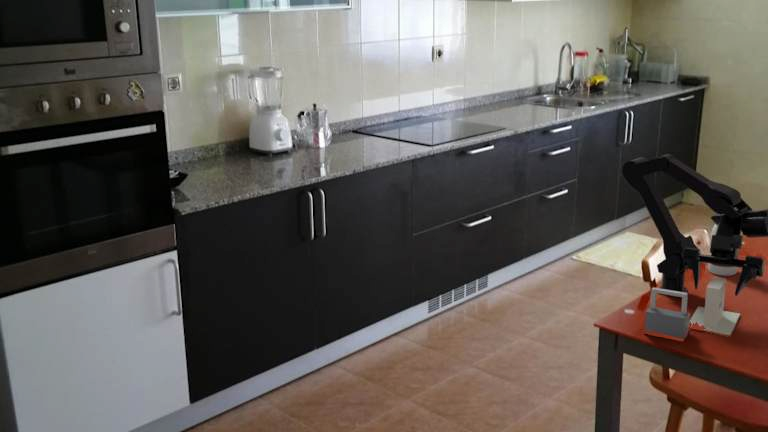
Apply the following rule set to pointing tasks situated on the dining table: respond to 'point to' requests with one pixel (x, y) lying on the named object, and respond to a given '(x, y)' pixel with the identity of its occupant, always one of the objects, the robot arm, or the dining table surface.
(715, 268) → the milk bottle
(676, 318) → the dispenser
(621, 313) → the dining table surface
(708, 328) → the mat
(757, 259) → the robot arm
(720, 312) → the white rectangular block
